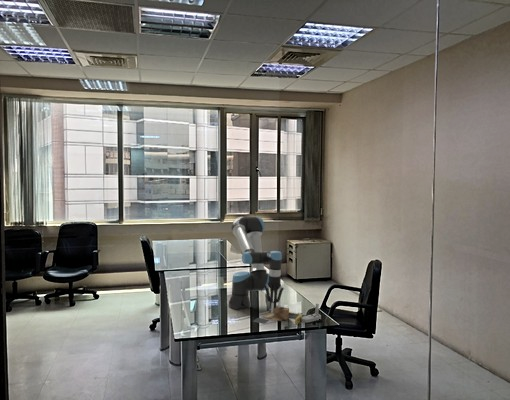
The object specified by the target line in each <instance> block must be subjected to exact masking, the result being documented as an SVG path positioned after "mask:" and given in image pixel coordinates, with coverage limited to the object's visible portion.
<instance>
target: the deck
mask: <svg viewBox="0 0 510 400" xmlns="http://www.w3.org/2000/svg"><path fill="white" fill-rule="evenodd" d="M262 319H267V320H273V321H277V322H282V321H283V320H284V319H279V318H274V313H271V312H269V311H268V312H267V313H266V314H265V315H263V316H262Z"/></svg>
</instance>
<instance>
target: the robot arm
mask: <svg viewBox="0 0 510 400" xmlns="http://www.w3.org/2000/svg"><path fill="white" fill-rule="evenodd" d="M230 227H231V228H230V229H231V233H232V234H233V235H234V236H235V238H236V241H237V243H238V244H239V247H240V250H241V252H242V254H241V261H242V263H243V264H244V265H251V270H250V272H249V271H237V272H235V273H233V275H232V281H231V284H232V285H231V296H230V298H229V301H228V307H229V308H230V309H234V310H238V311H239V310H249V309H250V308H251V307H252V306H251V305H252V304H251V300H250V296H249V295H250V293H249V292H258V291H259V292H263V291H265V293H266V301H268V302H269V308H270V309H271V313H274V309H275V307H277V304H278V303H279V302H280V300H281V298H282V294H283V291H284V290H285V287H283V286H282V285H281V278H282V277H281V275H282V272H281V271H282V263H283V261H282V259H283V256H282V251H279V250H270V251H268V250H265V251H263V247H262V240H261V239H262V237H261V236H262V235H263V233H264V231H265V222H264V220H263V219H262V217H259V216H241V215H240V216H238V217H236V218H235V219H234V220H233V221H232V223H231V226H230ZM264 264H268V265H269V267H268V272H267V269H265V265H264Z"/></svg>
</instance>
